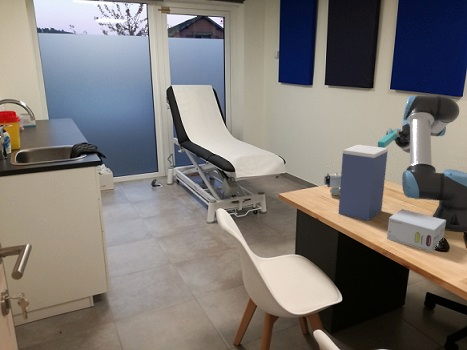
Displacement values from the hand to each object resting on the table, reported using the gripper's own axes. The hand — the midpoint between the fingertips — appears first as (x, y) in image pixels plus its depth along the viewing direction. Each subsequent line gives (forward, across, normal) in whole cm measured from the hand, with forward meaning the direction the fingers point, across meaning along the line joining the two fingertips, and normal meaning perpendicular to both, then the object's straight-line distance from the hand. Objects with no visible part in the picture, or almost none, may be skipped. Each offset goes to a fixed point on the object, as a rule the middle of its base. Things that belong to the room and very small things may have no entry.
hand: (392, 130), depth 194 cm
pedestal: (+18, +1, -44) cm, 47 cm away
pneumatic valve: (+2, +21, -38) cm, 43 cm away
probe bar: (+1, 0, -6) cm, 6 cm away
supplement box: (+32, -28, -50) cm, 65 cm away
